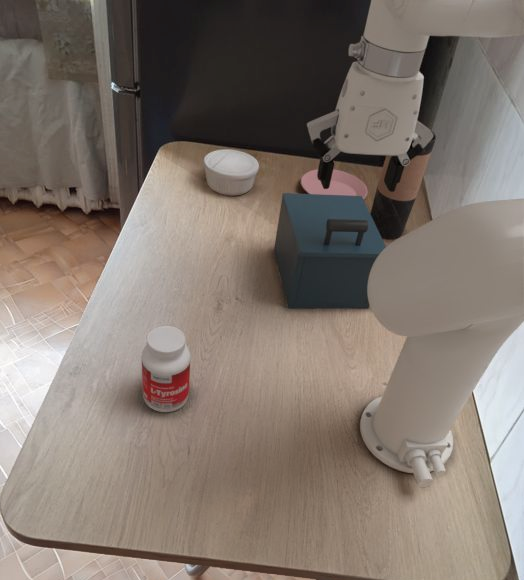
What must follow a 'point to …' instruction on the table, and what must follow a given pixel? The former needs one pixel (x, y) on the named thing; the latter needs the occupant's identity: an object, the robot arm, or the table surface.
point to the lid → (332, 226)
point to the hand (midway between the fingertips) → (356, 185)
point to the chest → (319, 274)
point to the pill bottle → (165, 369)
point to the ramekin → (230, 171)
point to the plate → (334, 184)
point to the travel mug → (399, 194)
